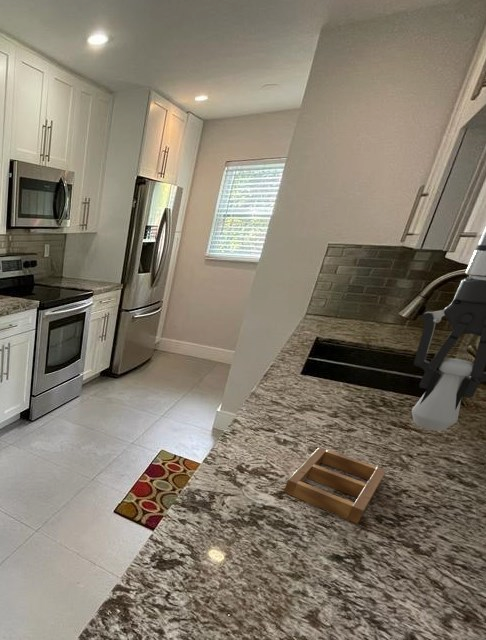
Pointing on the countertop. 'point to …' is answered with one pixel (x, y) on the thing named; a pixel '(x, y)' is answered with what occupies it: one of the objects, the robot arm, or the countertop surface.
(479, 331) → the robot arm
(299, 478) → the frame
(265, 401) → the countertop surface
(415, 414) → the salt shaker
